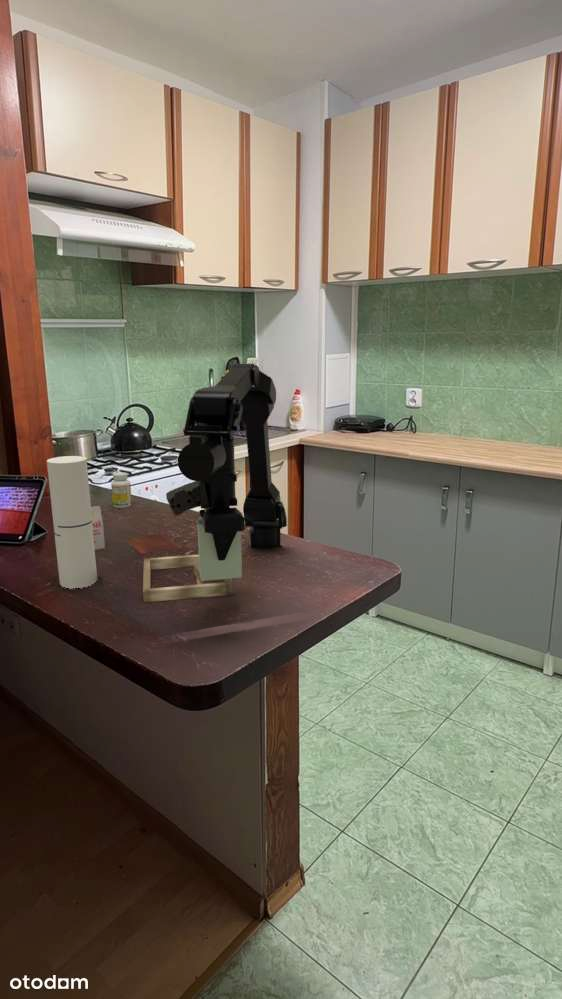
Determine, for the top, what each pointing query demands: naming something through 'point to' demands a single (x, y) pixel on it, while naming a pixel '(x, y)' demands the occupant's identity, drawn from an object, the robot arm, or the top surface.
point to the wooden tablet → (153, 543)
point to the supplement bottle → (121, 490)
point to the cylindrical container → (72, 521)
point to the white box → (97, 528)
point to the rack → (179, 591)
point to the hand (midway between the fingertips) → (220, 556)
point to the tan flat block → (197, 574)
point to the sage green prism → (209, 560)
